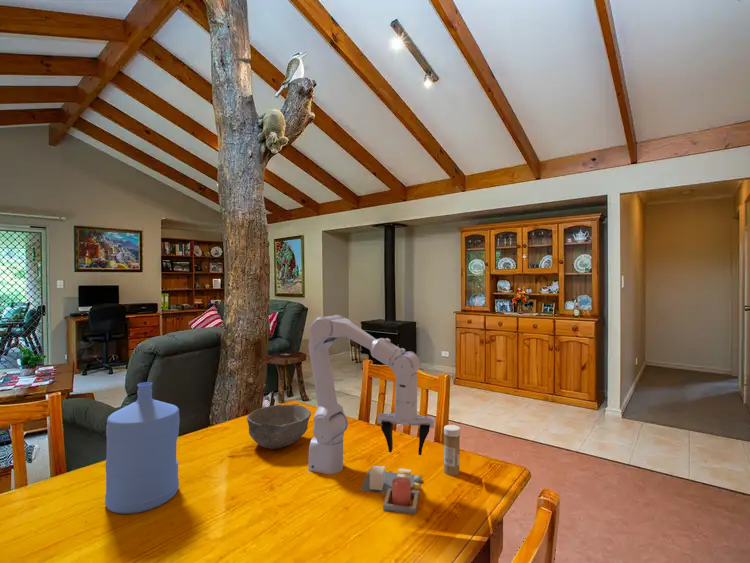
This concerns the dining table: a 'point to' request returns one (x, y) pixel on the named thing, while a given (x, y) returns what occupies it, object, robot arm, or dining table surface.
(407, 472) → the toggle
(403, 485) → the cap
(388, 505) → the frame
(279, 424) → the bowl
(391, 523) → the dining table surface
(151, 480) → the water jug
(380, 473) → the toggle
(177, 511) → the dining table surface
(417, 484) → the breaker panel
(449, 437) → the sprinkles bottle
